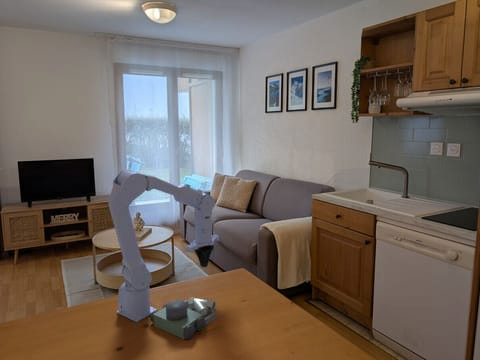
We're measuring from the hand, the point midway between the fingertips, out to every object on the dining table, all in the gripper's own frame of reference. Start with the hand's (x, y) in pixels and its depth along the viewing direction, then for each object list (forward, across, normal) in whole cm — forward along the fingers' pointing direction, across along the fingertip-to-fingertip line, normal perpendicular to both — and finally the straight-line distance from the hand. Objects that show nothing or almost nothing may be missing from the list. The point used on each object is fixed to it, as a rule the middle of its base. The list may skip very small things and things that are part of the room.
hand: (203, 266), depth 122 cm
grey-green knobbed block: (+9, -17, -7) cm, 21 cm away
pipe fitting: (+10, -11, -8) cm, 17 cm away
